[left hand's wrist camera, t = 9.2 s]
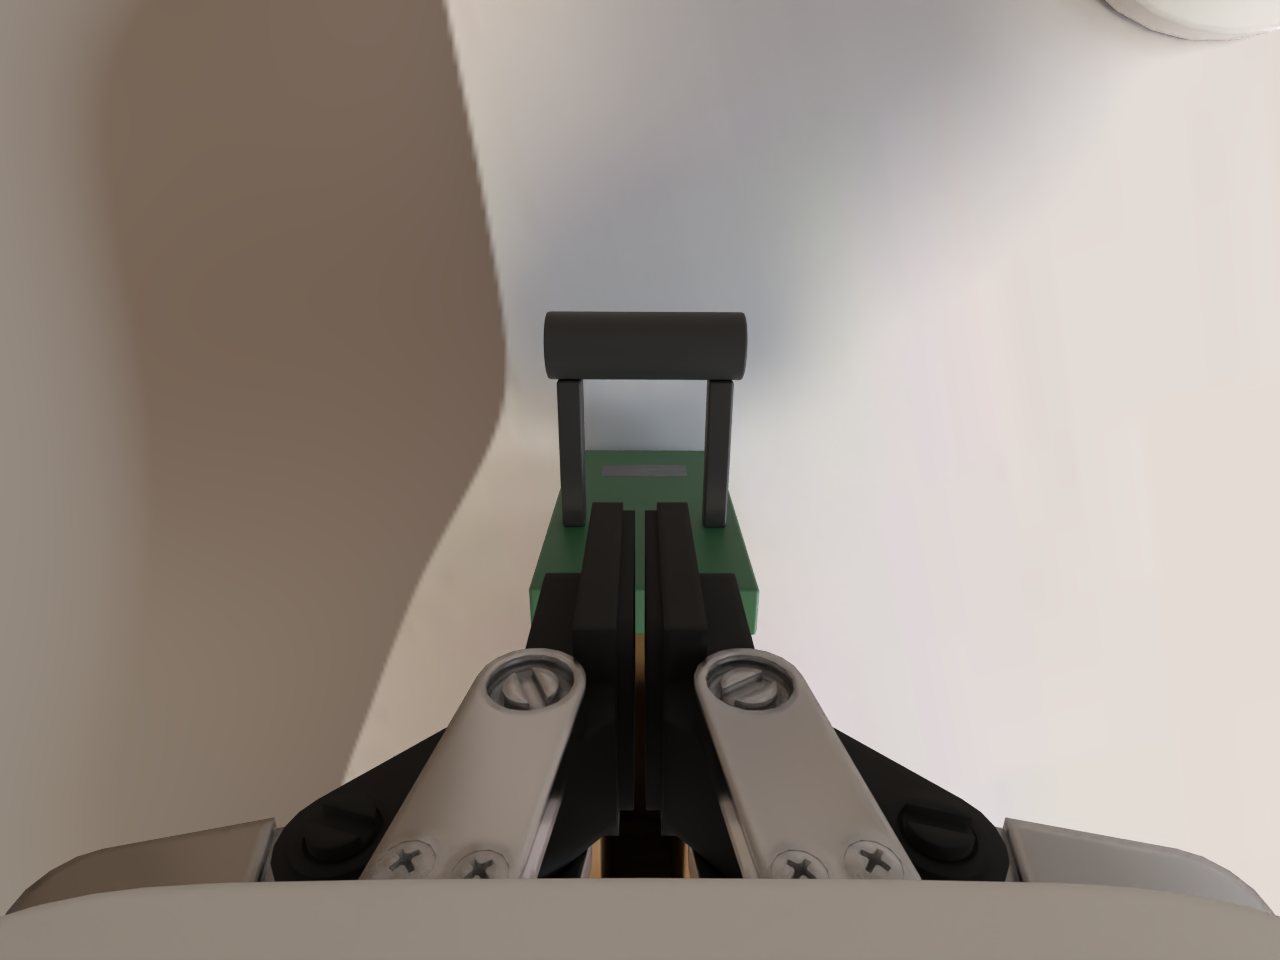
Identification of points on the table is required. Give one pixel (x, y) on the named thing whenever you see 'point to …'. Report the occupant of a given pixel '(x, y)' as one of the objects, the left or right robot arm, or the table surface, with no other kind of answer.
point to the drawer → (645, 500)
